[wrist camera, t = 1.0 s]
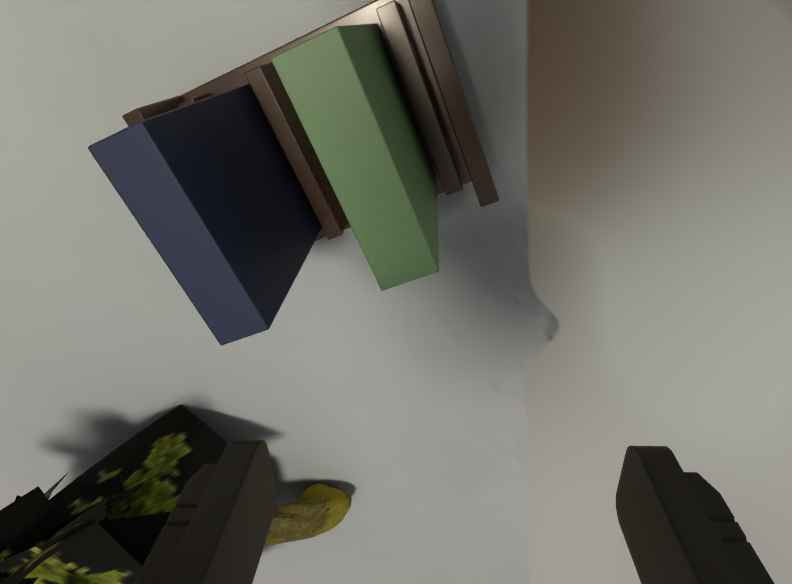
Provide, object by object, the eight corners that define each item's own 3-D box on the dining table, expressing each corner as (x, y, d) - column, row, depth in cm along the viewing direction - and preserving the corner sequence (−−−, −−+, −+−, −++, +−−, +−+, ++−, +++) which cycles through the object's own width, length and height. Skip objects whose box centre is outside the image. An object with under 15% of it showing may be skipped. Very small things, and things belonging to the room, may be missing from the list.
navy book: (256, 80, 29) (141, 120, 17) (326, 220, 33) (269, 329, 21) (220, 97, 29) (86, 147, 18) (293, 233, 33) (220, 346, 22)
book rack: (424, -22, 27) (421, -33, 22) (488, 170, 31) (499, 201, 26) (175, 99, 31) (121, 116, 25) (265, 255, 35) (235, 297, 30)
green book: (376, 23, 27) (337, 25, 16) (436, 178, 31) (439, 271, 19) (336, 42, 28) (269, 58, 16) (399, 192, 31) (381, 291, 20)
